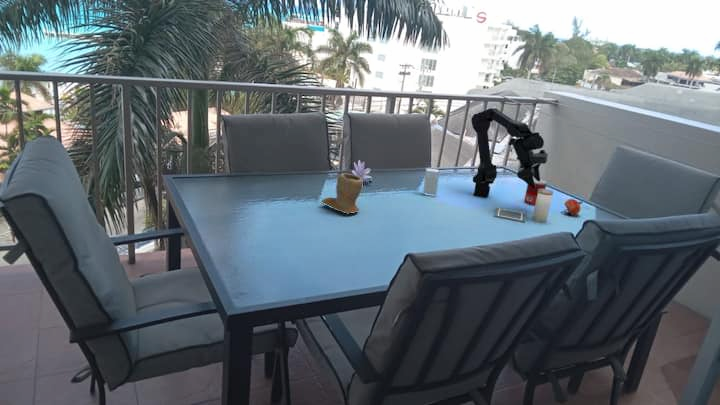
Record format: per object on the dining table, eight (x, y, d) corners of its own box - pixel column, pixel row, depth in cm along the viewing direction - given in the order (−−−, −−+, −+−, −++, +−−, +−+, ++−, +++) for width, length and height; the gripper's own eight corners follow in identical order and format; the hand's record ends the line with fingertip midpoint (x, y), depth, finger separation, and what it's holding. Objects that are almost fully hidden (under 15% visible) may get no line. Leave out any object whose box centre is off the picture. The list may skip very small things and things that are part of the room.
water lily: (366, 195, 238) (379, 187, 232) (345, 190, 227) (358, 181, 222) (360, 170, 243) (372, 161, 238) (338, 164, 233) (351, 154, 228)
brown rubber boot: (366, 212, 195) (369, 177, 190) (345, 218, 187) (348, 181, 182) (340, 201, 205) (343, 167, 200) (319, 206, 197) (321, 171, 192)
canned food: (542, 206, 222) (547, 184, 219) (525, 204, 224) (529, 181, 220) (540, 201, 229) (545, 179, 226) (523, 199, 231) (527, 177, 227)
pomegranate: (564, 220, 213) (586, 211, 209) (556, 206, 213) (578, 196, 209) (564, 217, 220) (586, 208, 215) (556, 203, 220) (578, 194, 216)
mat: (493, 216, 204) (493, 215, 203) (495, 208, 214) (495, 207, 213) (525, 222, 200) (525, 221, 200) (526, 214, 210) (526, 213, 209)
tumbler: (531, 220, 203) (538, 191, 199) (532, 216, 208) (538, 187, 204) (546, 223, 201) (553, 194, 197) (546, 218, 207) (553, 190, 202)
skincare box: (435, 194, 227) (439, 169, 223) (436, 196, 223) (439, 172, 219) (422, 192, 227) (426, 168, 223) (423, 195, 223) (426, 170, 219)
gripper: (536, 152, 194) (551, 186, 196) (546, 139, 208) (559, 172, 210) (510, 160, 200) (524, 194, 203) (521, 148, 215) (534, 179, 217)
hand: (536, 184), depth 208 cm, fingers open, 9 cm apart
